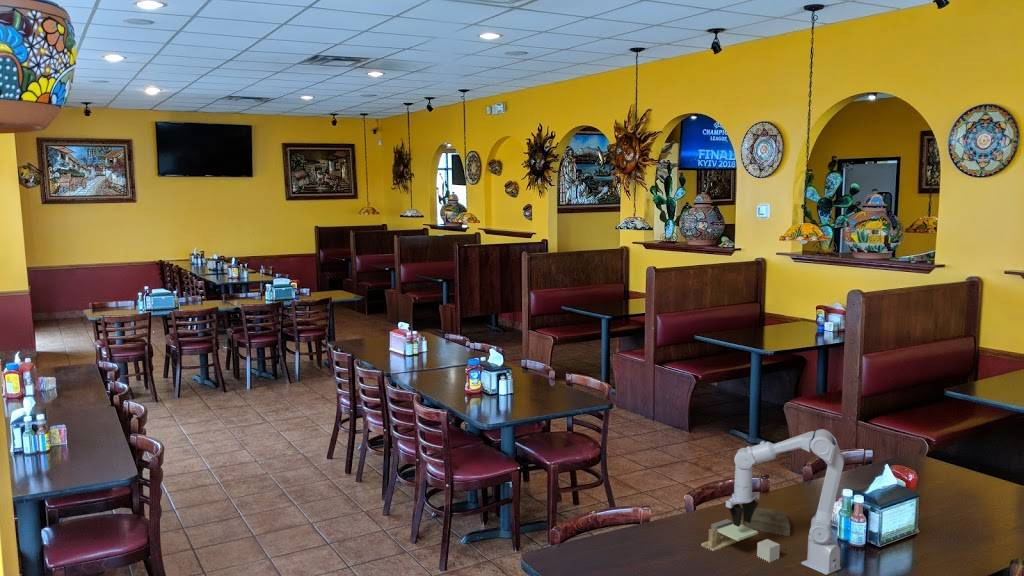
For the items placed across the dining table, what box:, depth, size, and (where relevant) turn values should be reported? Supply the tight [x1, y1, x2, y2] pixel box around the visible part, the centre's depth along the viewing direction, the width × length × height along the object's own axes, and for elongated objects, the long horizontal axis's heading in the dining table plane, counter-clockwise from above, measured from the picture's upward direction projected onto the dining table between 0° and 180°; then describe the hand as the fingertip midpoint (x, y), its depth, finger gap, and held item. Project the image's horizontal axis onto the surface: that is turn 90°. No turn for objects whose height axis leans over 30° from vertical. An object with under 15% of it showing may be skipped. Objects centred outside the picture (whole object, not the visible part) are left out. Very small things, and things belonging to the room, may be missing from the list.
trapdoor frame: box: [700, 519, 744, 552], centre depth 273 cm, size 5×15×7 cm, turn 124°
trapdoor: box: [710, 518, 759, 542], centre depth 269 cm, size 12×10×1 cm
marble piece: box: [745, 507, 791, 537], centre depth 288 cm, size 17×15×4 cm
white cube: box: [756, 538, 781, 563], centre depth 262 cm, size 5×5×5 cm
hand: (741, 523), depth 266 cm, fingers open, 5 cm apart
